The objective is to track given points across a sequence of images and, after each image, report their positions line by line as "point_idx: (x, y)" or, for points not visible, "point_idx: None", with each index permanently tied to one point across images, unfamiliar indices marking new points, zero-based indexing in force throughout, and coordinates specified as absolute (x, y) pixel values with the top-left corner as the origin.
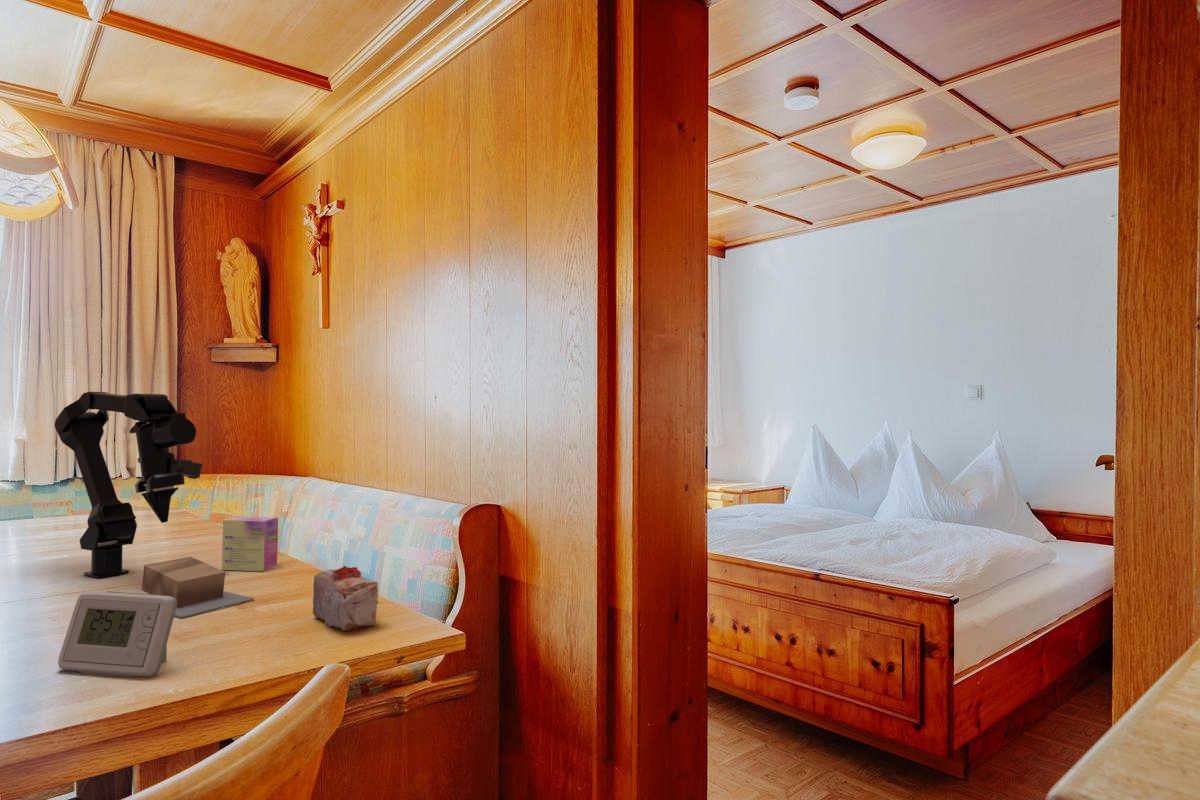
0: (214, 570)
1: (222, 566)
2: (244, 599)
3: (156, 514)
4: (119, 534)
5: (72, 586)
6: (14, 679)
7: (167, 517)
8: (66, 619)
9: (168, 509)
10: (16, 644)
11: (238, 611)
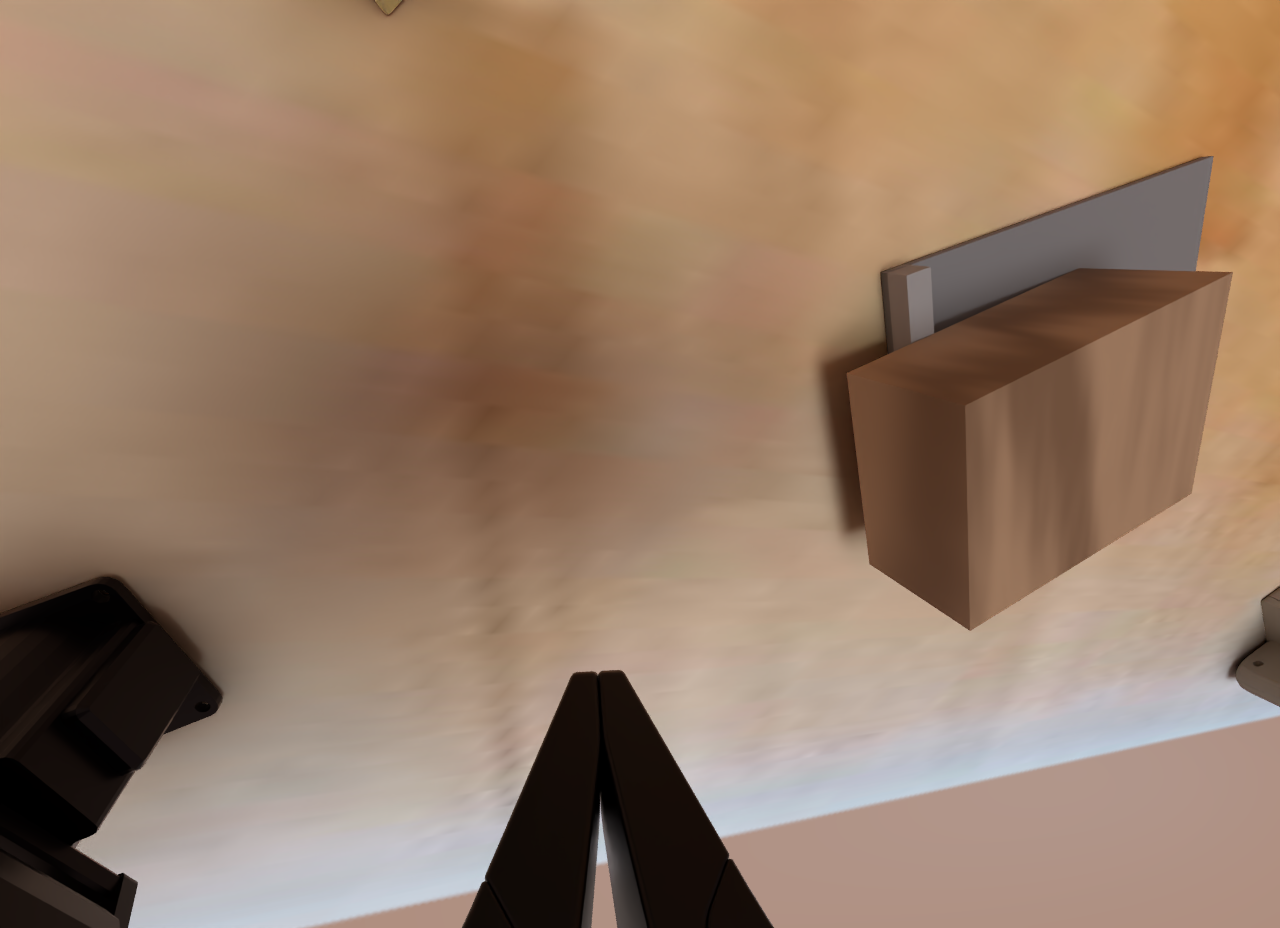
0: (1188, 320)
1: (385, 2)
2: (1191, 203)
3: (596, 857)
4: (19, 887)
5: (357, 766)
6: (1199, 728)
7: (646, 712)
8: (883, 714)
9: (704, 811)
10: (1005, 767)
11: (1254, 271)
